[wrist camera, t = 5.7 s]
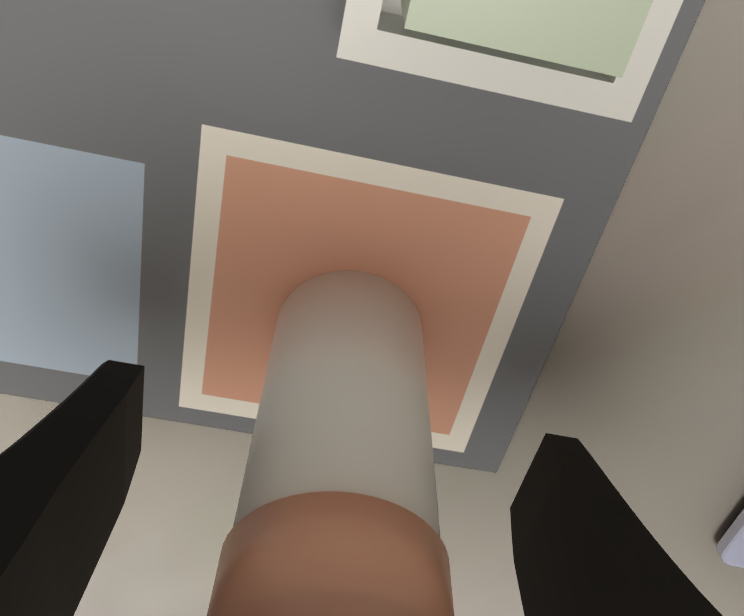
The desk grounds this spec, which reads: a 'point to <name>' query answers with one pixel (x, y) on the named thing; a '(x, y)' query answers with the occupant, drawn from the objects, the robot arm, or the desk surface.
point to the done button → (539, 28)
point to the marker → (339, 465)
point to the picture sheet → (282, 205)
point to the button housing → (503, 60)
